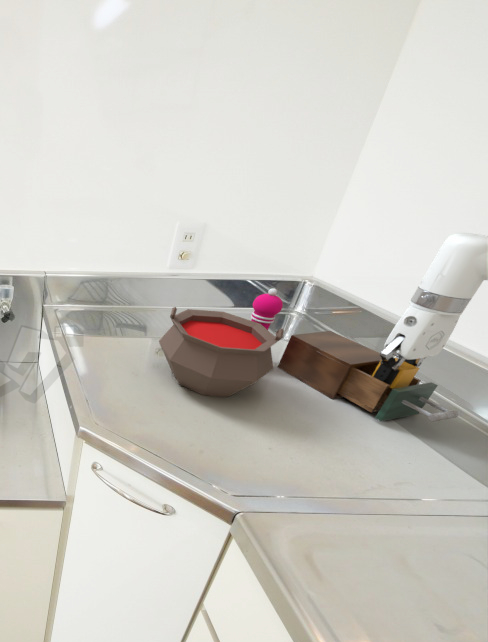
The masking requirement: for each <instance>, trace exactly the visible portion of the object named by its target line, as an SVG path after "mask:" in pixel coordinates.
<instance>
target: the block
mask: <svg viewBox="0 0 488 642" xmlns="http://www.w3.org/2000/svg"><path fill="white" fill-rule="evenodd" d="M394 358H395V360H396V361H397V360H398V359H399V357H394ZM380 362H381V361H380ZM380 362H379V364H378V366H377V368H376V369H375V371H374V373H373V374H372V376H374V375H375V373H376V371H377V370H378V368H379V366H380ZM397 370H400V371H399V373H398V374H397V376H396V377H395V379H394V381H393V382H392V384H391V385H390V386H389V387H390V388H392V389H395V388H401V387H407V386H409V384H410V382H411V381H412V379H413V378H414V377H416V375H417V373H418V371H419V370H420V367H416V366H413V365H411V364H409V363H407V362H403V363H402V364H401V366H400V367H399V368H398V369H397Z"/></svg>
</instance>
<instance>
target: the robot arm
mask: <svg viewBox="0 0 488 642" xmlns="http://www.w3.org/2000/svg"><path fill="white" fill-rule="evenodd" d="M484 281H488V235H485V234H480V233H479V234H478V233H471V232H470V233H469V232H457V233H453V234H450V235H449V236H448V237H446V239H445V240H444V242H443V243H442V245H441V246H440V248H439V250H438V251H437V253H436V255H435V257H434V259H433V260H432V262H431V263H430V265H429V267H428V268H427V270H426V272H425V274H424V275H423V278H422V279H421V281H420V283H419V284H418V286H417V287H416V290H415V291H414V293H413V295H412V296H411V298H410V300H409V302H408V303H409V304H410V305H408V307H407V308H406V310H405V311H404V313H403V314H402V315H401V316H400V318H399V319H398V321H397V322H396V324H395V325H394V327H393V328H392V330H391V332H390V333H389V335H388V337H387V338H386V341H385V342H384V345H383V350H381V351H380V352H379V353H380V356H381V358H382V360H381V362H380V366H379V368H378V370H377V371H376V373H375V375H374V376H373V377H375V378H377V379H379V380H381V381H383V382H385V383H387V384H389V385H391V384H392V382H393V381H394V379H395V377H396V376H397V374H398V373H399V371H400V370H397V369H398V368H399V367H400V366H401V364H402V363H403V362H407V363H409V364H411V365H413V366H416V367H418V368H420V367H421V365H422V363H423V361H424V360H425V359H427V358H432V357H436V356H438V355H440V354H441V352H442V351H443V349H444V347H445V346H446V344H447V343H448V341H449V339H450V337H451V336H452V333H453V332H454V330H455V328H456V327H457V324H458V322H459V320H460V317H461V316H462V314H463V312H464V311H465V310H466V308H467V306H468V305H469V304H470V302H471V301H472V299H473V297H474V296H475V295H476V293H477V291H478V290H479V288H480V287H481V286H482V284H483V282H484ZM397 351H399V352H400V353H399V352H397ZM393 356H394V357H393ZM395 358H398V360H397V361H396V360H395Z"/></svg>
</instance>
